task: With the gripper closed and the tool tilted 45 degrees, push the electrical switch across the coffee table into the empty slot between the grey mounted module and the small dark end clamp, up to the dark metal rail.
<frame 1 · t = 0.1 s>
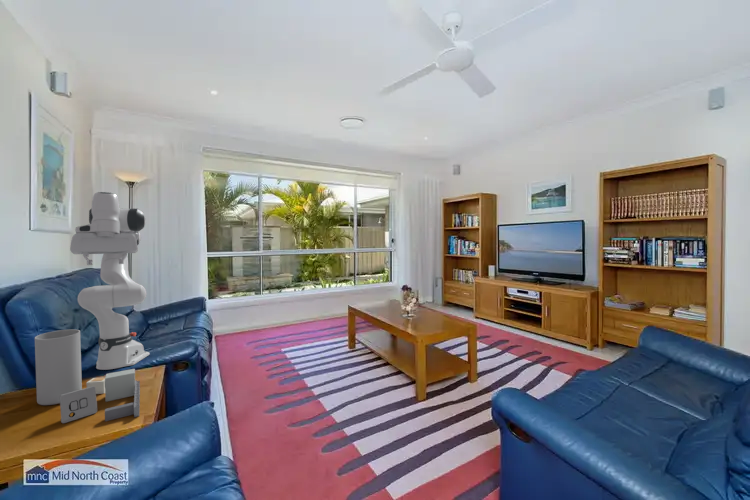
hand: (105, 264, 125), 52 cm above the table, tool tilted 20°, fingers open, 8 cm apart
rail: (137, 397, 123), on the table
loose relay: (98, 391, 131), on the table
electrical switch: (77, 416, 113), on the table
end clamp: (119, 411, 113), on the table
cylinder vase: (60, 398, 125), on the table
mounted module: (120, 384, 127), on the table
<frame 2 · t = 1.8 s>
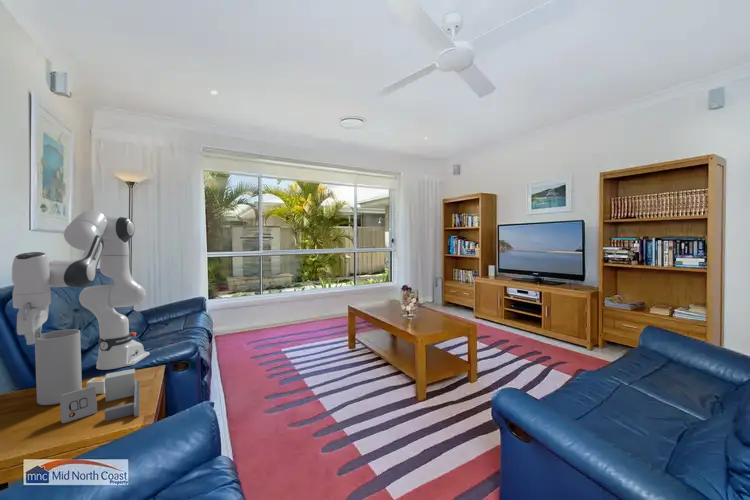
hand: (34, 341, 110), 27 cm above the table, tool pointing down, fingers open, 6 cm apart
nothing on the table moved.
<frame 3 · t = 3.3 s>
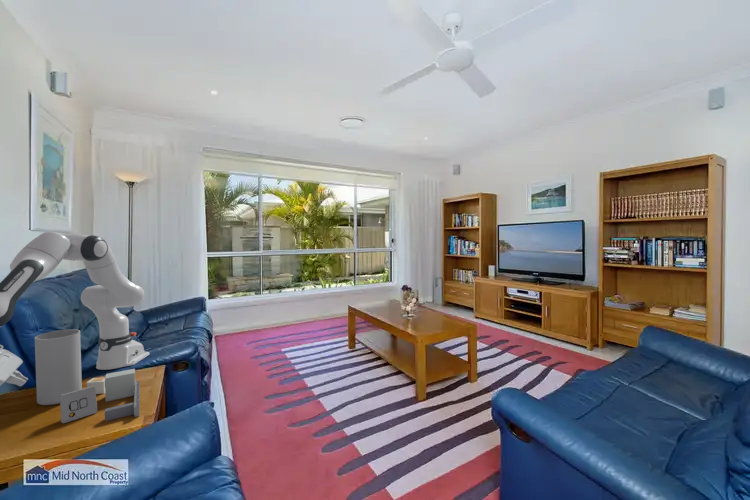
hand: (24, 382, 105), 15 cm above the table, tool tilted 45°, fingers closed
nothing on the table moved.
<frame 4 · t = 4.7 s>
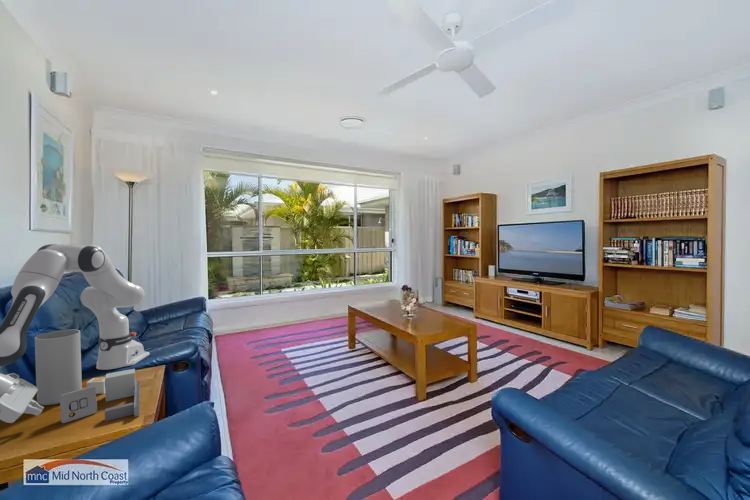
hand: (41, 411, 108), 4 cm above the table, tool tilted 45°, fingers closed
nothing on the table moved.
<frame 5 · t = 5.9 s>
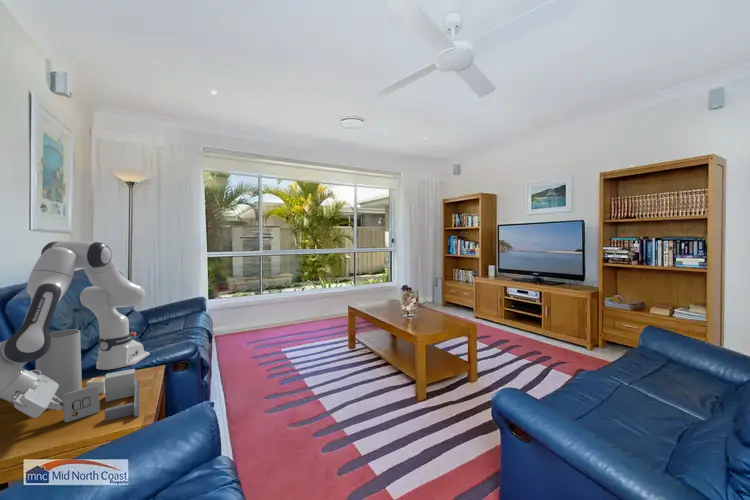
hand: (62, 407, 111), 4 cm above the table, tool tilted 45°, fingers closed
electrical switch: (80, 416, 114), on the table, touching gripper
everything else where it was.
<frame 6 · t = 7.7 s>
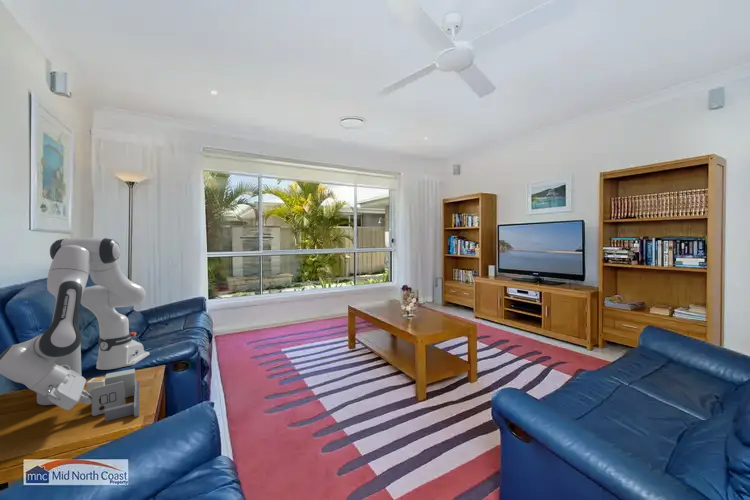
hand: (91, 400, 115), 4 cm above the table, tool tilted 45°, fingers closed
electrical switch: (107, 410, 117), on the table, touching gripper
everything else where it was.
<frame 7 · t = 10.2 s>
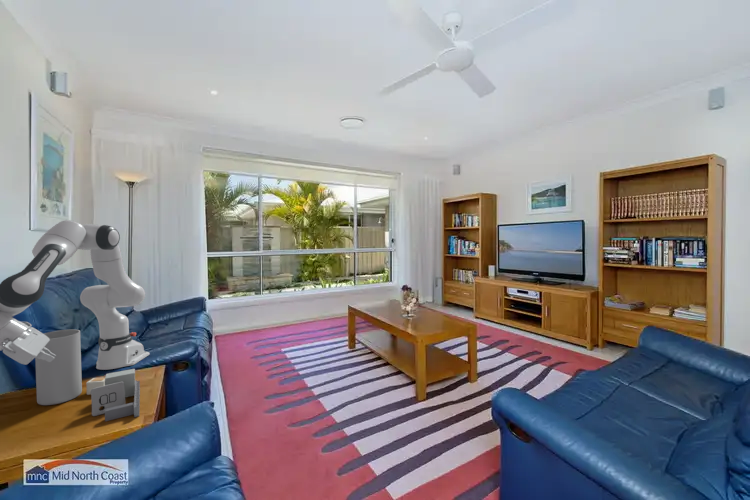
hand: (53, 359, 110), 21 cm above the table, tool tilted 45°, fingers closed
electrical switch: (107, 410, 117), on the table
everything else where it was.
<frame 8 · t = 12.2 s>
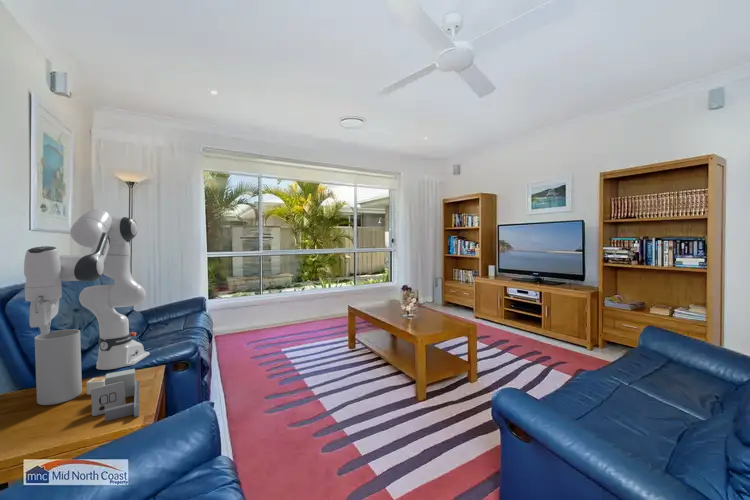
hand: (45, 333, 112), 29 cm above the table, tool pointing down, fingers closed
nothing on the table moved.
at the end: electrical switch 1.0 cm from the rail (horizontally); electrical switch tilted 0°; electrical switch moved 8.1 cm from its start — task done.
